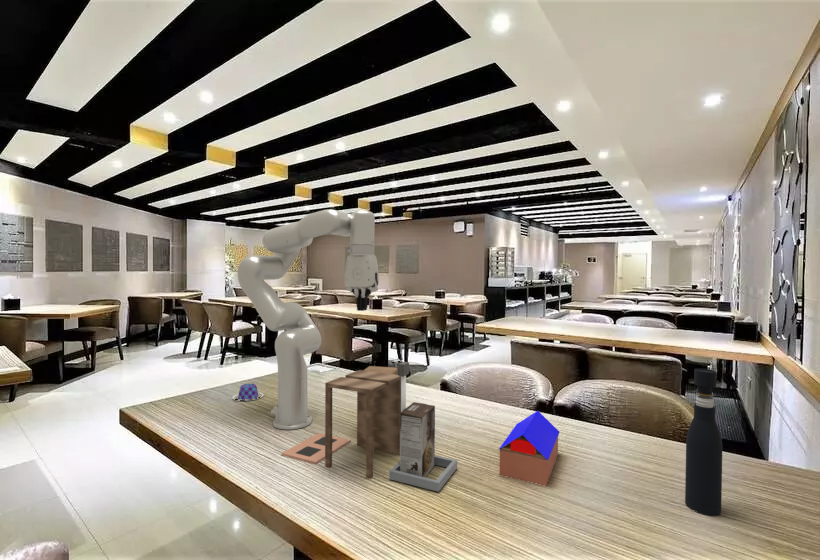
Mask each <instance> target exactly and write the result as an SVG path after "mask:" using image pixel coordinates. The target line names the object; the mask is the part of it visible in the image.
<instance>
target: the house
mask: <svg viewBox="0 0 820 560" xmlns="http://www.w3.org/2000/svg"><path fill="white" fill-rule="evenodd" d="M559 435H560V430H559V429H557V428H556V426H555V425H553V424H552V423H551V422H550V421H549V420H548V419H547V418H546V417H545V416H544V415H543V414H542V413H541V412H540V411H539V410H537V411H535V412H533V413H532V414H530V415H528V416H527V417H525V418H524V419H522V420H521V421H519V422H518V423H516V425H515V426H514V427H513V428H512V430H511V432H510V433H509V434H508V435H507V437H506V438H505V439H504V441H503V443H502V444H501V445H500V447H499V448H498V451H499V476H501V475H502V477H506V476H507V478H510V477H512V478H511V479H514V478H516V479H515V480H518V479H520V480H519V481H522V480H524V481H523V482H527V481H529V482H528V483H531V482H533V483H532V484H535V483H537V484H536V485H539V484H541V485H540V486H543V485H545V486H544V487H547V486H546V485H548V483H547V482H549V480H550V477H551V475H550V474H552V472H553V468H554V467H553V466H555V464H556V461H557V458H556V457H558V456H559ZM515 451H516V452H515ZM557 455H558V456H557ZM555 460H556V461H555ZM554 463H555V464H554ZM551 471H552V472H551ZM548 479H549V480H548Z"/></svg>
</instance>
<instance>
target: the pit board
mask: <svg viewBox="0 0 820 560" xmlns="http://www.w3.org/2000/svg"><path fill="white" fill-rule="evenodd" d="M350 443H351V439H348V438H343V437H339V436H334V435H332V455H333V454H334V453H336V452H337V451H338V450H341V449H342V448H344V447H345V446H346V445H349V444H350ZM280 453H281V456H284V457H286V456H287V458H290V457H291V458H290V459H295V460H298V461H302V462H305V463H309V464H313V465H317V464H319V463H321V462H322V461H323V460H325V433H320V432H317V433H315V434H313V435H312V436H310V437H308V438H306V439H304V440H303V441H301V442H299V443H298V444H296V445H294V446H292V447H289V448H288V449H286V450H285V451H283V452H280Z"/></svg>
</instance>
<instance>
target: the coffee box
mask: <svg viewBox="0 0 820 560" xmlns="http://www.w3.org/2000/svg"><path fill="white" fill-rule="evenodd" d="M435 435H436V406H435V405H432V404H427V403H422V402H417V401H416V402H412V403H411V404H410V405H408V406H406V409H404V410H403V411H402V412H401V413H400V455H399V462H400V471H401V472H405V473H409V474H413V475H417V476H421V477H425V478H427V476H428V475H429V473H430V472H431V470H432V469H433V467H434V466H436V465H435V455H436V454H435V451H436V450H435V448H436V445H435V442H436V439H435V438H436V437H435Z"/></svg>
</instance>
